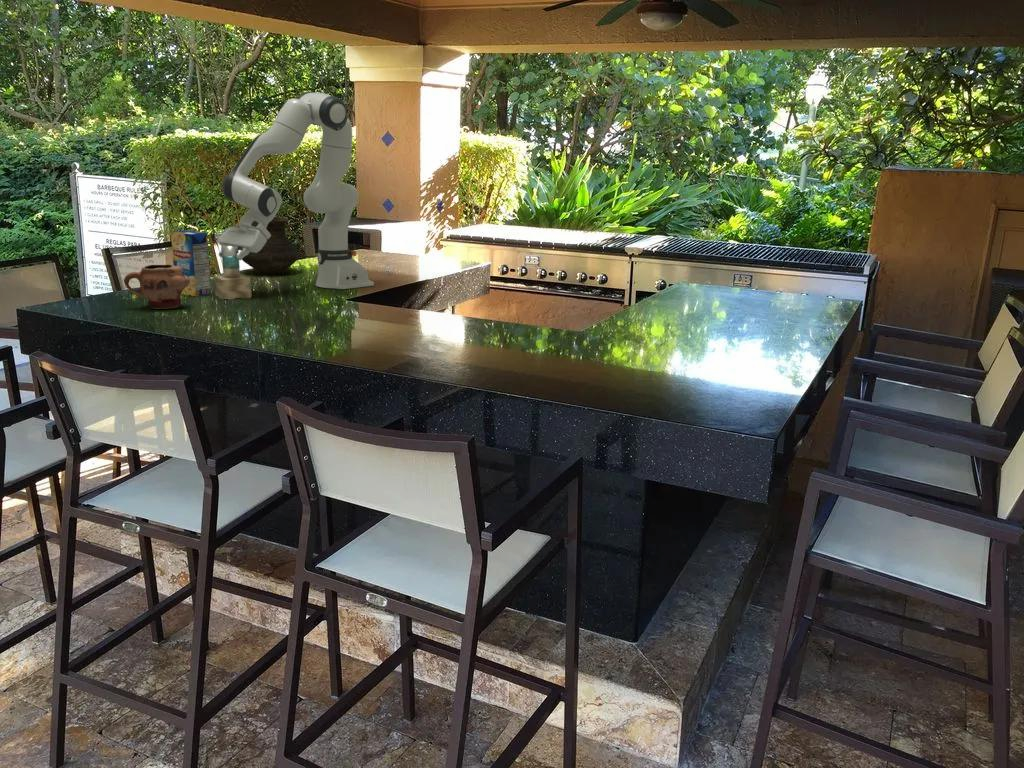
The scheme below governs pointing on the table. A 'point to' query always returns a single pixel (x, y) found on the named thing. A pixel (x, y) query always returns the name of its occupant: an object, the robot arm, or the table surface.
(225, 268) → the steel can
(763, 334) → the table surface
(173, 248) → the beverage box
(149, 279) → the decorative planter
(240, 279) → the oak block
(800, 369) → the table surface
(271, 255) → the ceramic pot
